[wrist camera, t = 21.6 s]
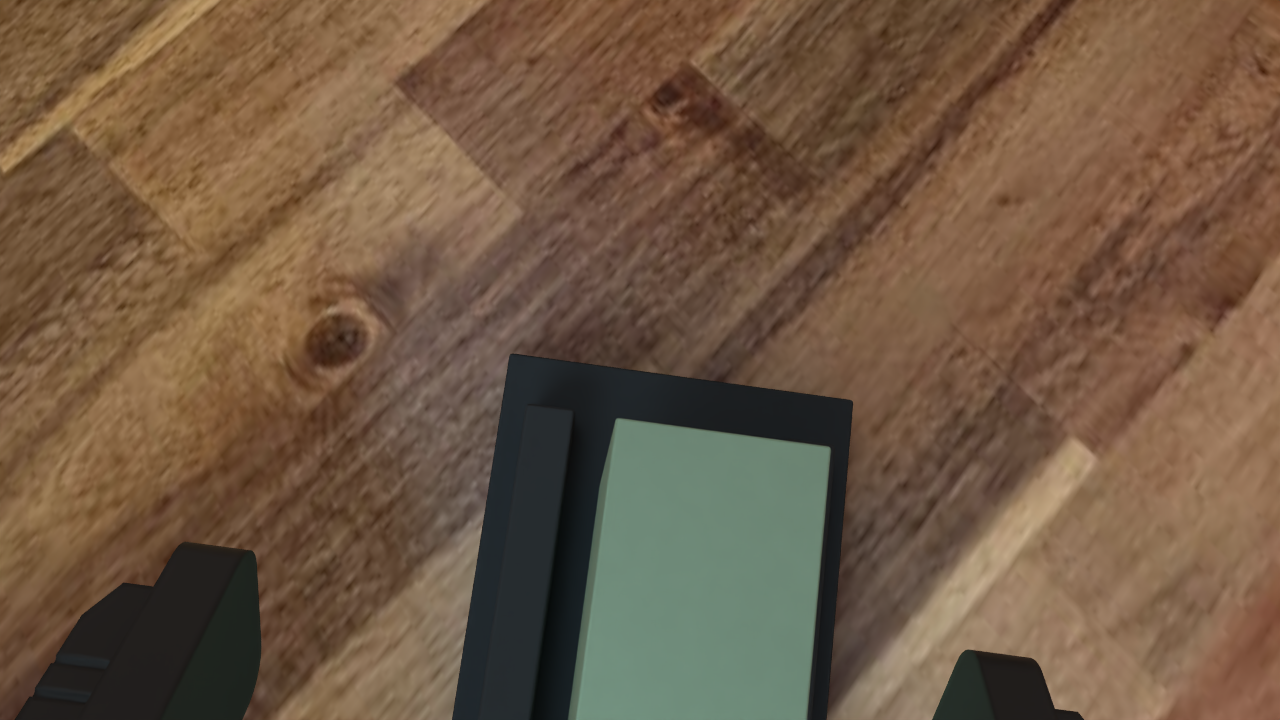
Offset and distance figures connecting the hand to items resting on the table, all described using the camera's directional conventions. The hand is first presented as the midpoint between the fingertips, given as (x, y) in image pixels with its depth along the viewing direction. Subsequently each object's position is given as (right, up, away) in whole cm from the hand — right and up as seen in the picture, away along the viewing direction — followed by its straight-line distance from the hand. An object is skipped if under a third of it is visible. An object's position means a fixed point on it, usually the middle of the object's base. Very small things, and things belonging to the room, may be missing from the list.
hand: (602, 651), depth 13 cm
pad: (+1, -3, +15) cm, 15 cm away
